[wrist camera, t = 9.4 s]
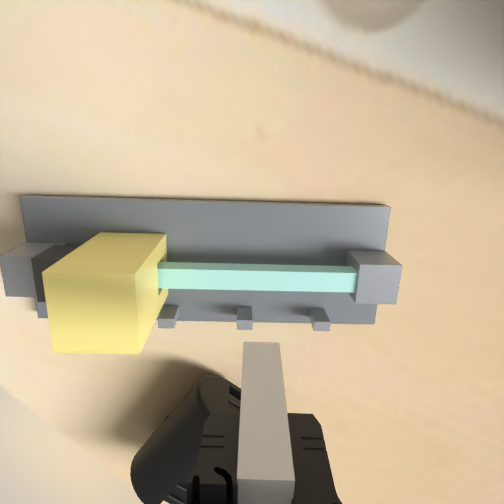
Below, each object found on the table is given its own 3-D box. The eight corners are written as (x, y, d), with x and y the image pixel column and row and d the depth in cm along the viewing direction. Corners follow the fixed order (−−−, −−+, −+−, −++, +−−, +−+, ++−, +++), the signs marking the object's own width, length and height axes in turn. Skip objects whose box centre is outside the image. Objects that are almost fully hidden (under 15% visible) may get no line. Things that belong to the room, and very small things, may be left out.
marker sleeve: (100, 232, 29) (41, 272, 21) (166, 233, 29) (134, 274, 21) (105, 292, 30) (53, 352, 22) (168, 293, 31) (139, 354, 22)
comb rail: (27, 194, 29) (-17, 207, 24) (386, 204, 30) (413, 218, 25) (44, 312, 32) (8, 344, 27) (370, 318, 33) (392, 350, 28)
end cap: (202, 357, 34) (192, 410, 28) (264, 397, 35) (269, 456, 29) (141, 430, 36) (119, 495, 30) (202, 465, 38) (193, 534, 31)
